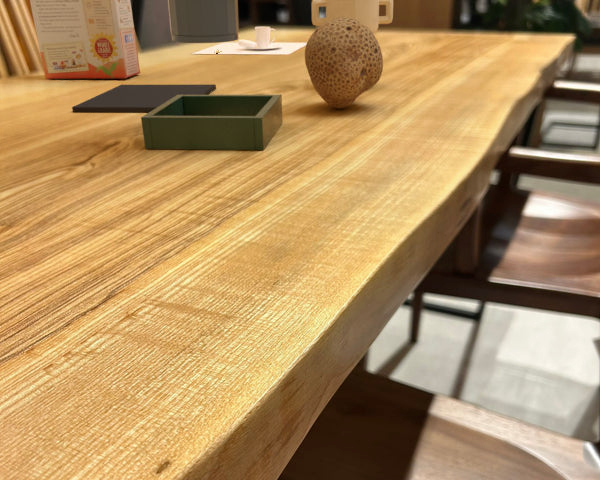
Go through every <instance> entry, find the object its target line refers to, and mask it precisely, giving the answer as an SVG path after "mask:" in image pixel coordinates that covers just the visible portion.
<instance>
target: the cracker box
mask: <svg viewBox="0 0 600 480" xmlns="http://www.w3.org/2000/svg"><path fill="white" fill-rule="evenodd" d="M29 2H30V9H31V13H32V18H33V24H34V27H35V32H36V33H35V34H36V38H37V43H38V49H39V53H40V58H41V63H42V69H43V72H44V77H45V79H46V80H47V79H48V80H75V79H95V80H96V79H97V80H100V79H101V80H106V79H107V80H111V79H112V80H125V79H128V78H131V77H135V76H138V75H139V74H141V68H140V62H139V61H140V60H139V53H138V46H137V39H136V38H137V37H136V31H135V24H134V18H133V9H132V2H131V0H29Z"/></svg>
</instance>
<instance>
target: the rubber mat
mask: <svg viewBox="0 0 600 480" xmlns="http://www.w3.org/2000/svg"><path fill="white" fill-rule="evenodd" d="M214 89H215V90H217V85H216V84H215V83H214V84H120V85H118V86H115V87H113V88H111V89H108V90H106V91H104V92H102V93H100V94H97V95H95V96H93V97H91V98H89V99H86V100H84V101H82V102H80V103H78V104H76V105H73V106H72V107H71V109H72V112H73V113H149V112H151V111H152V110H154V109H156V108H157V107H159V106H160V105H162V104H164V103H165V102H167V101H168V100H170V99H172V98H173V97H175V96H176V95H207V94H208V95H210V94H211V93H212V92H214V91H215V90H214ZM213 90H214V91H213ZM211 91H212V92H211ZM210 92H211V93H210Z"/></svg>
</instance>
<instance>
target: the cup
mask: <svg viewBox="0 0 600 480" xmlns="http://www.w3.org/2000/svg"><path fill="white" fill-rule="evenodd" d="M238 3H239V1H238V0H167V9H168V18H169V29H170V30H169V31H170V36H171V41H172V42H174V43H182V44H183V43H184V44H217V43H218V44H221V43H224V42H235V41H239V40H240V38H239V37H240V36H239V33H240V26H239V25H240V24H239V23H240V22H239V4H238Z"/></svg>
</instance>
